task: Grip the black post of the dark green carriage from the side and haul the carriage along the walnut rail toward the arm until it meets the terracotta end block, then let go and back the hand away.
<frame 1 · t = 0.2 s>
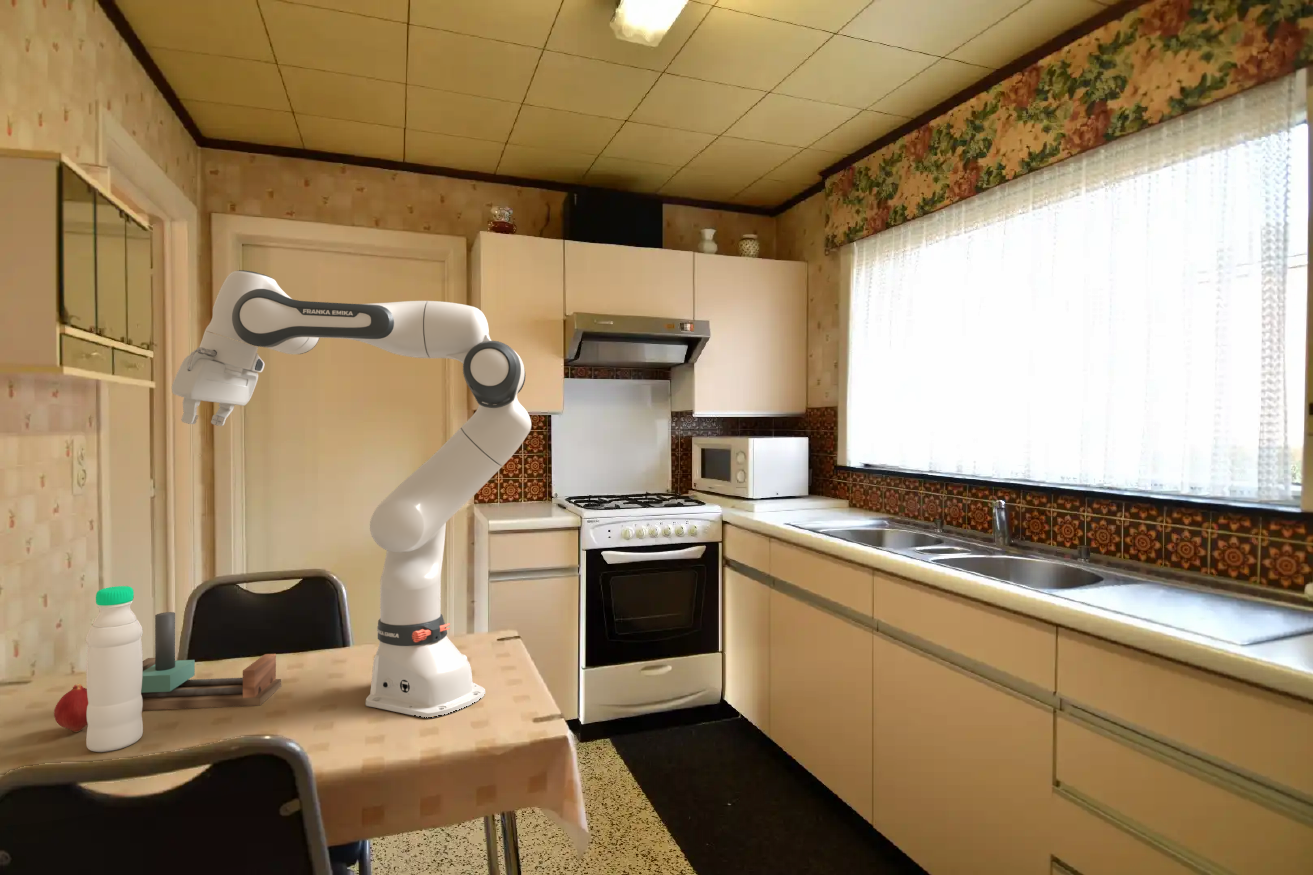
hand: (202, 424, 125), 51 cm above the table, tool tilted 15°, fingers open, 8 cm apart
carriage: (165, 648, 125), point 9 cm above the table, slide at 0.0 cm
rail: (202, 698, 126), on the table
white bottle: (115, 744, 108), on the table
onion: (77, 732, 112), on the table
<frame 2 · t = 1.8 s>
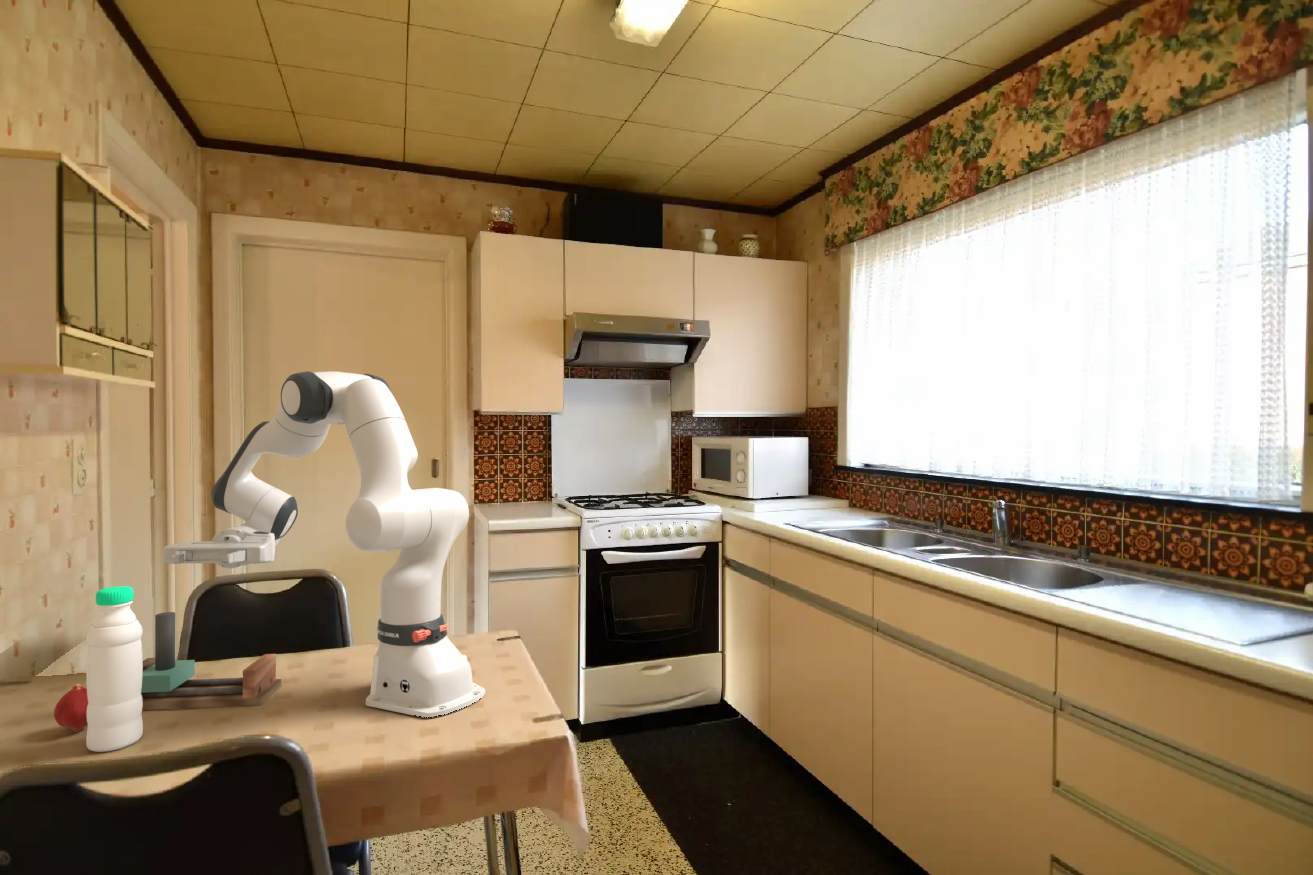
hand: (200, 559, 137), 24 cm above the table, tool horizontal, fingers open, 8 cm apart
nothing on the table moved.
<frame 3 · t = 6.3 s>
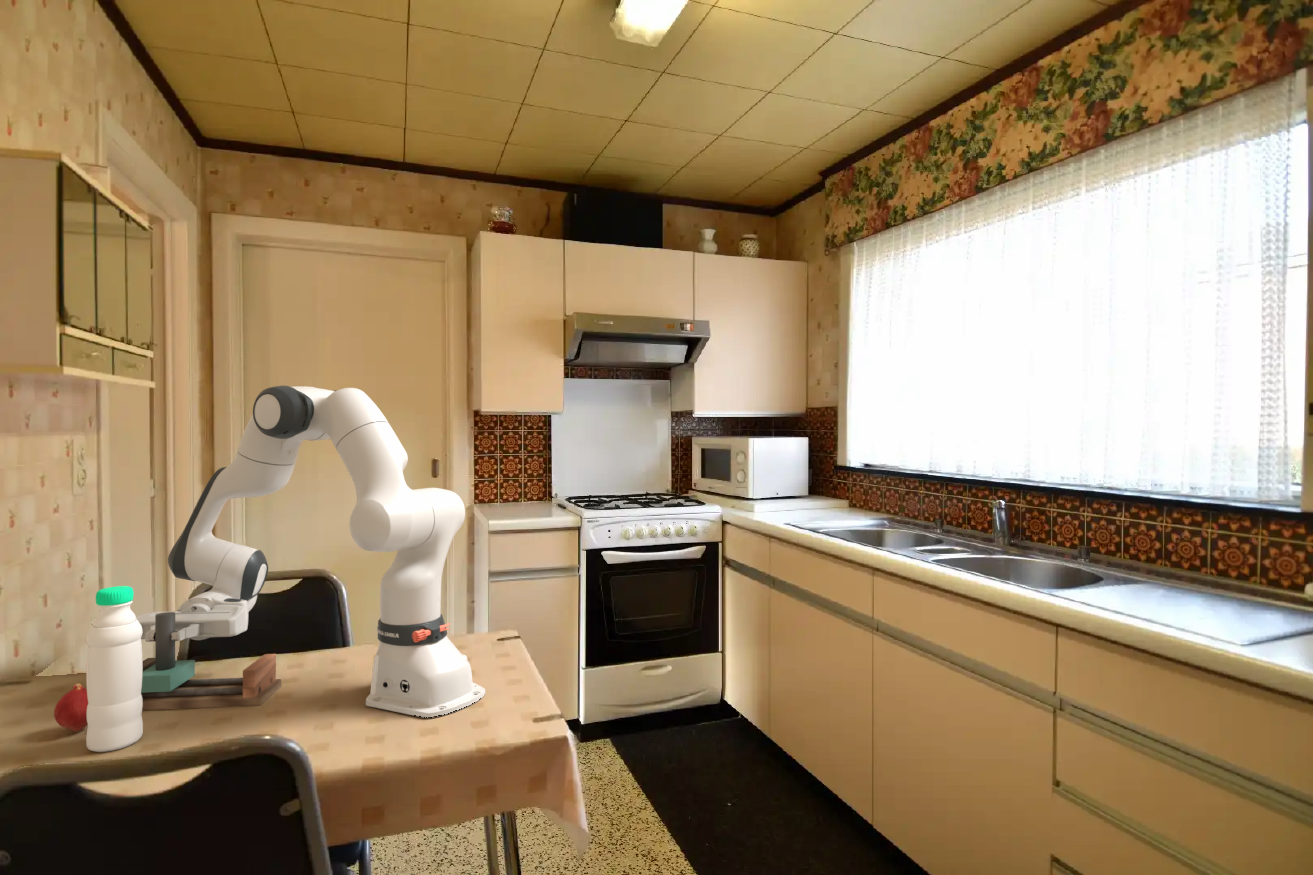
hand: (162, 637, 124), 12 cm above the table, tool horizontal, fingers closed on carriage, 3 cm apart
carriage: (165, 648, 125), point 9 cm above the table, slide at 0.0 cm, touching gripper
everything else where it was.
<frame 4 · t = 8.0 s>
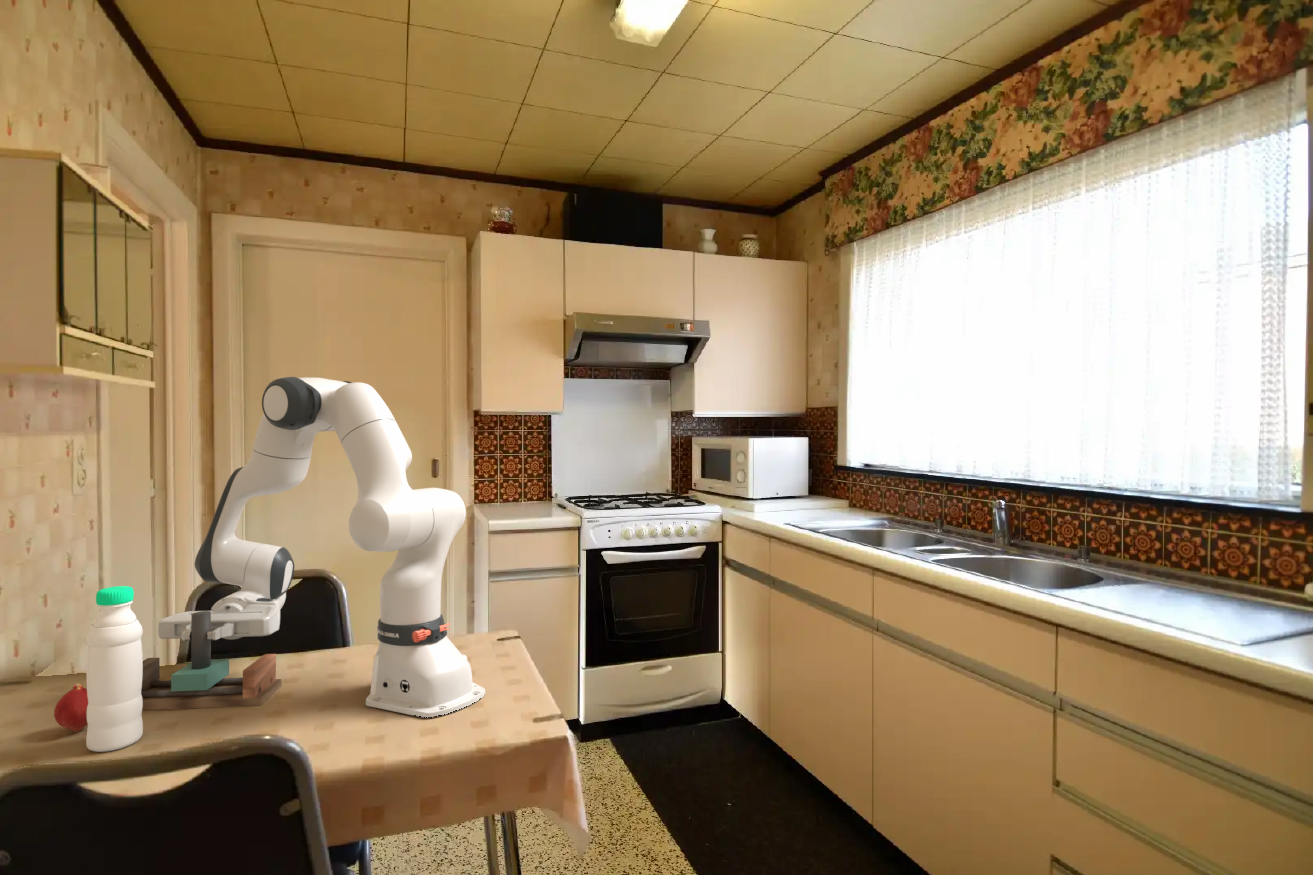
hand: (198, 636, 125), 12 cm above the table, tool horizontal, fingers closed on carriage, 3 cm apart
carriage: (201, 647, 126), point 10 cm above the table, slide at 6.2 cm, touching gripper
everything else where it was.
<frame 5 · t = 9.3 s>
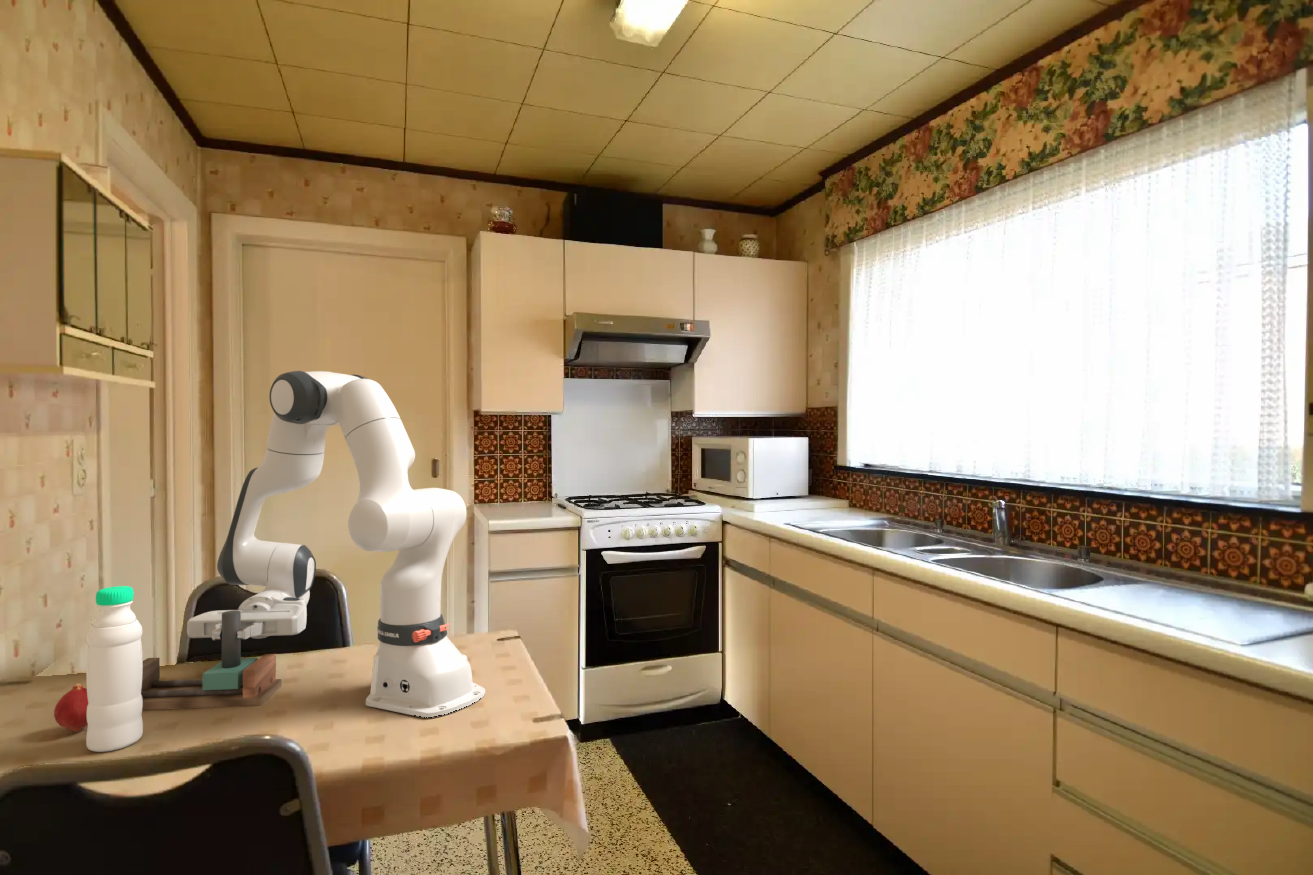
hand: (228, 635, 125), 12 cm above the table, tool horizontal, fingers closed on carriage, 3 cm apart
carriage: (231, 646, 126), point 9 cm above the table, slide at 11.4 cm, touching gripper
everything else where it was.
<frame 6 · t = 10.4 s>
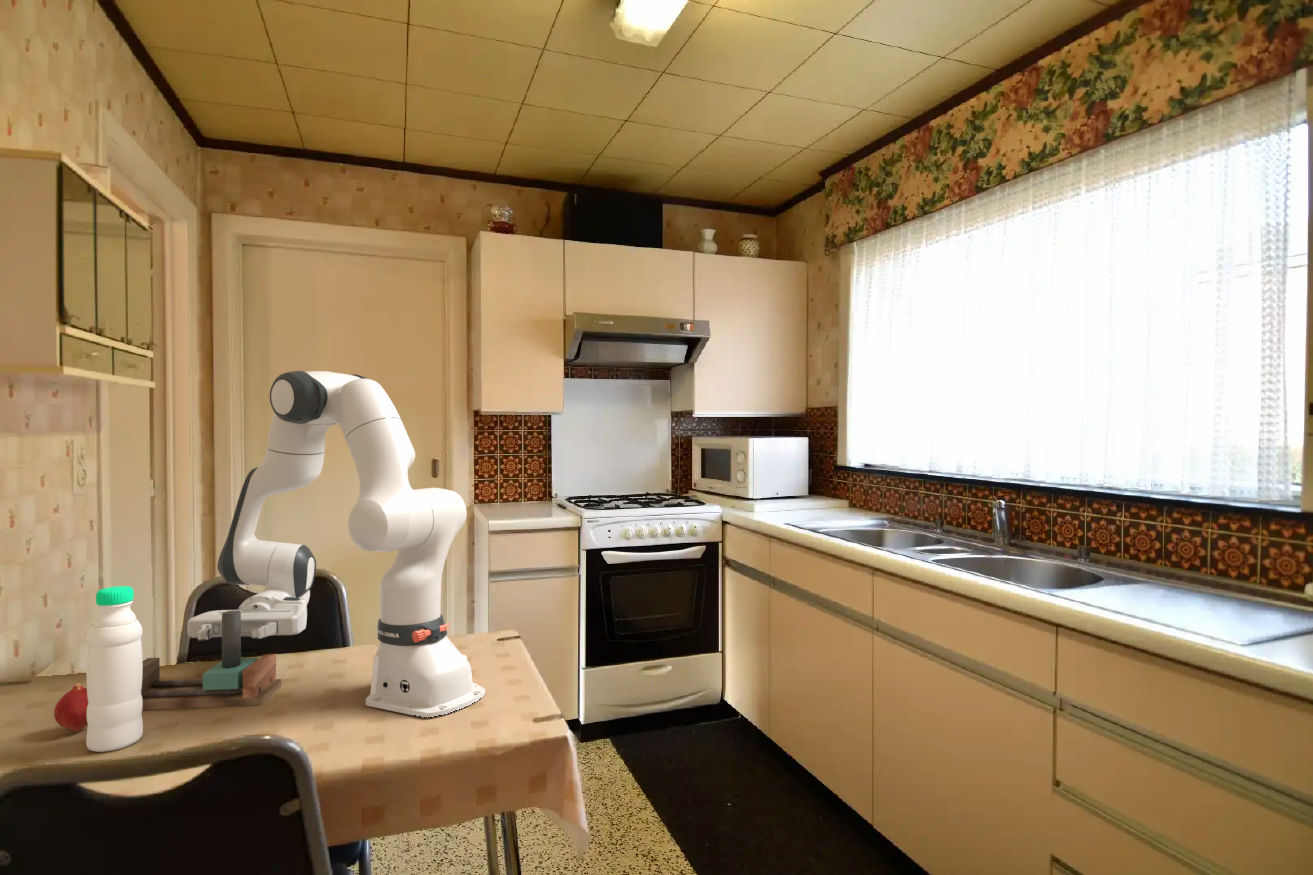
hand: (229, 635, 125), 12 cm above the table, tool horizontal, fingers open, 8 cm apart
carriage: (231, 646, 126), point 10 cm above the table, slide at 11.5 cm
everything else where it was.
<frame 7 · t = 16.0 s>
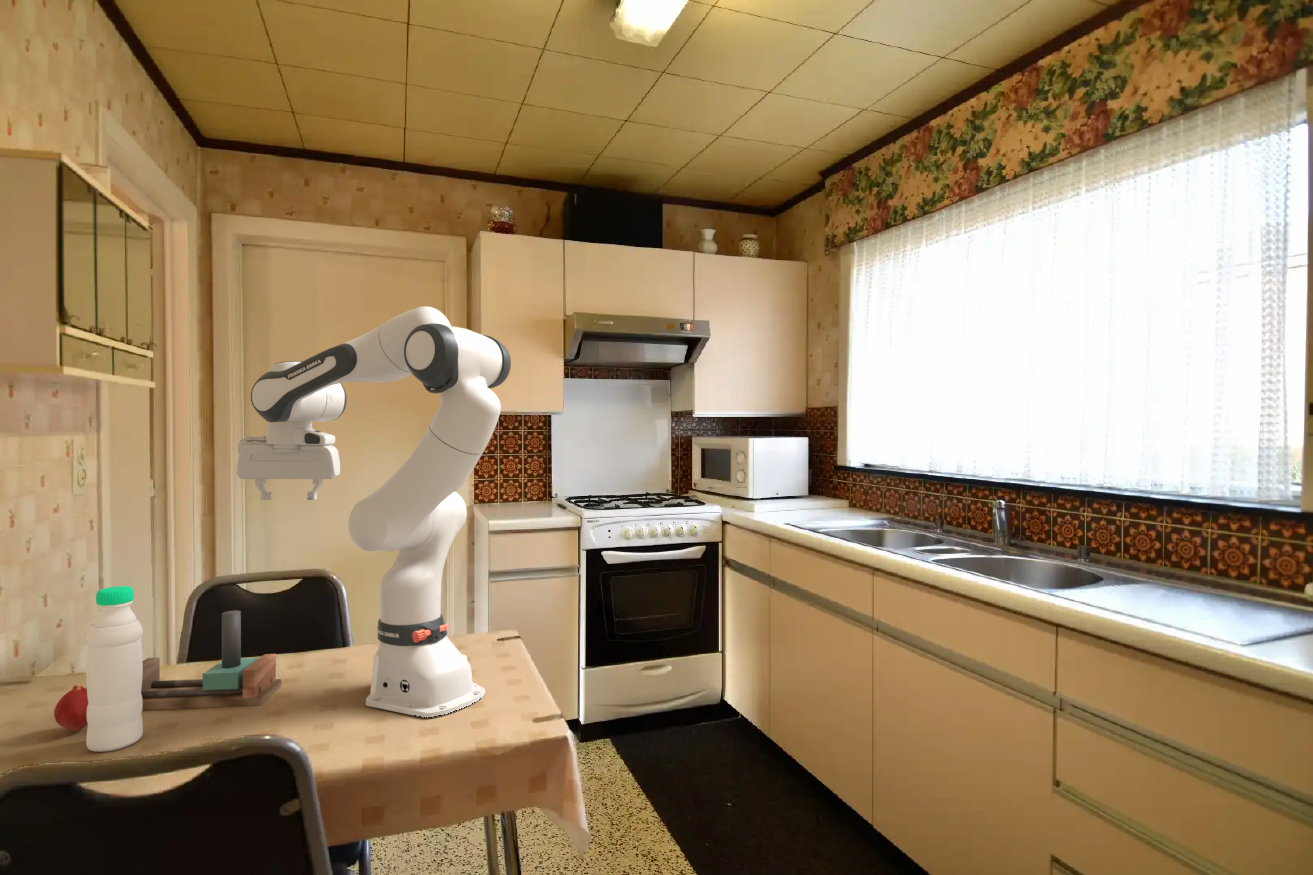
hand: (289, 499, 146), 35 cm above the table, tool pointing down, fingers open, 8 cm apart
nothing on the table moved.
at the end: carriage slide at 11.5 cm; the gripper is holding nothing; white bottle moved 0.2 cm from its start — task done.
